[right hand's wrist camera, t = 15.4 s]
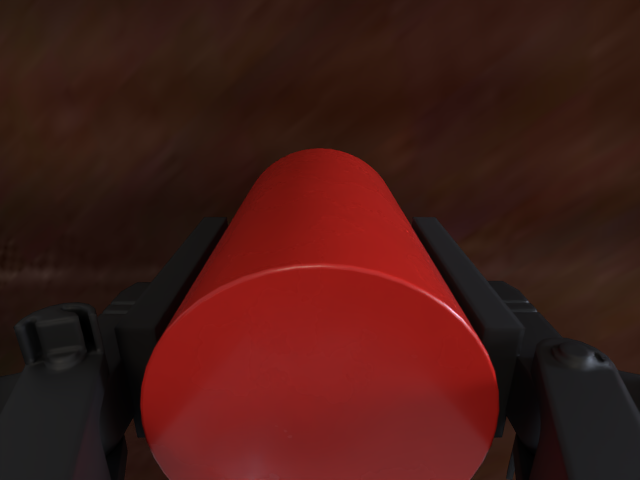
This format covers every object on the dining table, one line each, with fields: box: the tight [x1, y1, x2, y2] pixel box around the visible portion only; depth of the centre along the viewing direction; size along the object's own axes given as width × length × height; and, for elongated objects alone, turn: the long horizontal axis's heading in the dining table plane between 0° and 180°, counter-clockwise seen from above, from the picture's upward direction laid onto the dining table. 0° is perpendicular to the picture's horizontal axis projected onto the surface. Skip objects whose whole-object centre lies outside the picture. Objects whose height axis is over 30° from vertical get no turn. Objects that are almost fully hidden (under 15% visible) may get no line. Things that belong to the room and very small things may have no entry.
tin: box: [140, 148, 499, 480], centre depth 12 cm, size 6×6×10 cm
